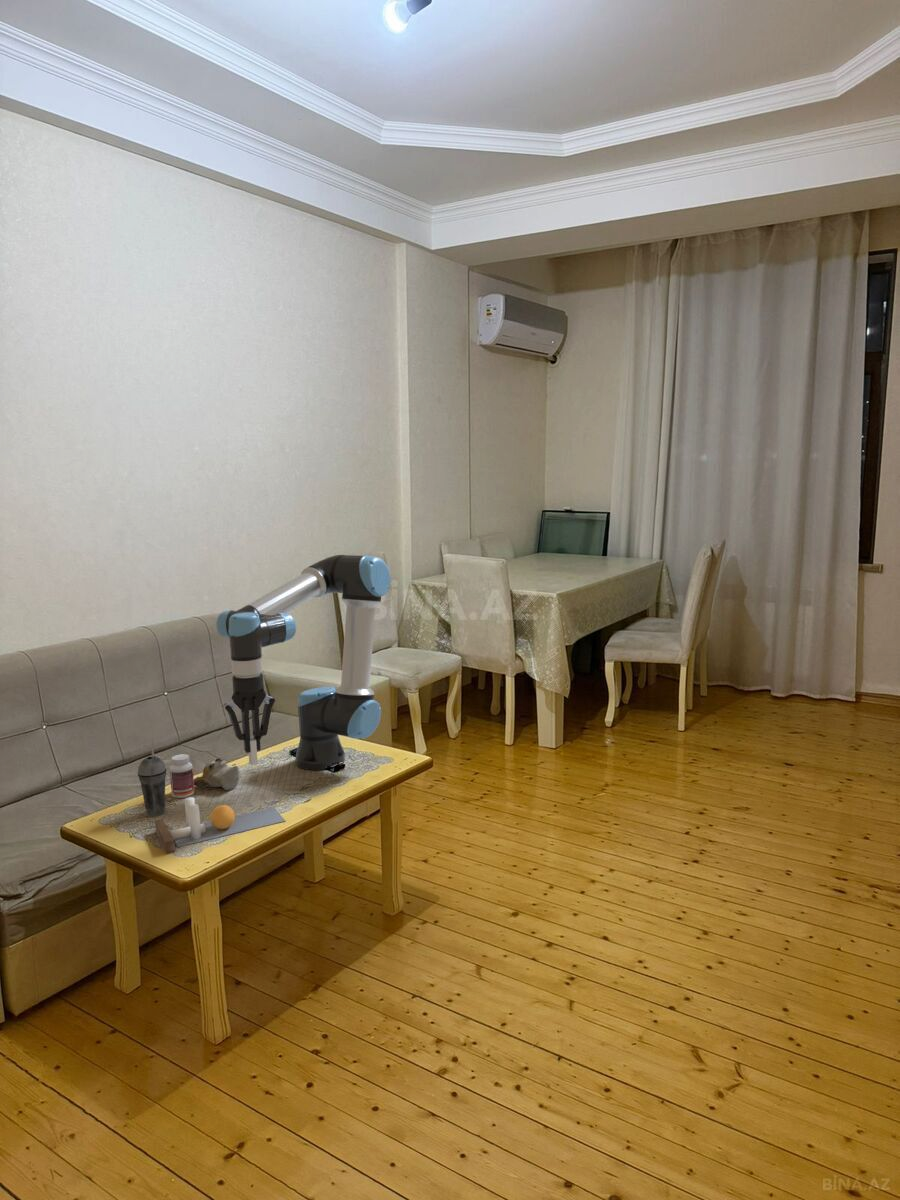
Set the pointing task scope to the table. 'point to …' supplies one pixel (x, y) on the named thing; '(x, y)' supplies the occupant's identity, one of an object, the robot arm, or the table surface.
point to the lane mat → (237, 825)
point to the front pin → (185, 832)
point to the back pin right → (188, 802)
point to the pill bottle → (181, 776)
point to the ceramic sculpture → (218, 775)
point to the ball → (222, 817)
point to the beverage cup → (153, 784)
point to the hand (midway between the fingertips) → (253, 763)
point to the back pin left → (195, 821)
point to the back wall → (164, 836)
